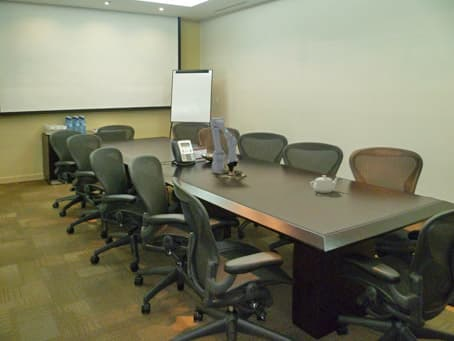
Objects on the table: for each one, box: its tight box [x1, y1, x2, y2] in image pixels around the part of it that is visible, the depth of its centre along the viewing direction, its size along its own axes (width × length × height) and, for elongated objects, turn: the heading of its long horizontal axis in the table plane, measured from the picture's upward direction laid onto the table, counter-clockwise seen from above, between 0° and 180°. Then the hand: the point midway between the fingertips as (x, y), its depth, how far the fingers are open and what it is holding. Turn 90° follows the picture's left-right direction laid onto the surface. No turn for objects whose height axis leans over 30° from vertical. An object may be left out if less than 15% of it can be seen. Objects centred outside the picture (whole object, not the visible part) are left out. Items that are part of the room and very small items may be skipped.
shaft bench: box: [217, 168, 247, 180], centre depth 313 cm, size 17×14×5 cm
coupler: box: [229, 166, 238, 175], centre depth 312 cm, size 4×4×6 cm
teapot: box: [309, 174, 340, 194], centre depth 266 cm, size 22×14×11 cm, turn 111°
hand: (232, 171), depth 312 cm, fingers closed on coupler, 4 cm apart
